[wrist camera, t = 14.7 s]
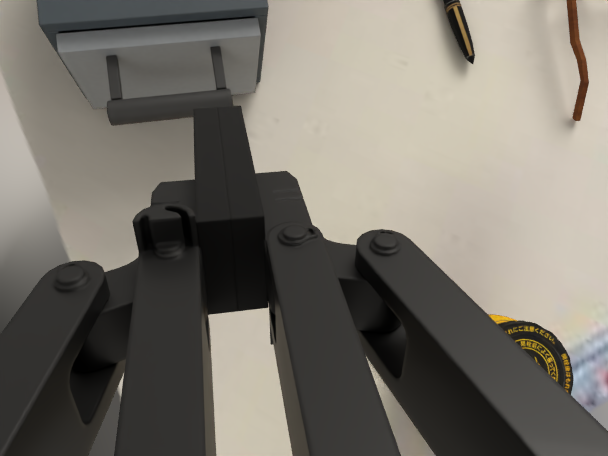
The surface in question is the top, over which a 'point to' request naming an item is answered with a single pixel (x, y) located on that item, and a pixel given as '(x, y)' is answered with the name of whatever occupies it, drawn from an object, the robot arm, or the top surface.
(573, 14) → the glasses
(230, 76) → the drawer
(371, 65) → the top surface
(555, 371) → the condiment
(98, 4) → the cabinet
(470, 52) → the fountain pen
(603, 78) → the top surface
